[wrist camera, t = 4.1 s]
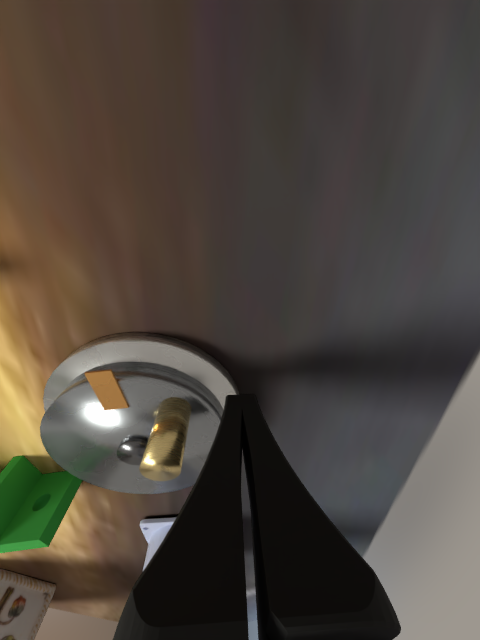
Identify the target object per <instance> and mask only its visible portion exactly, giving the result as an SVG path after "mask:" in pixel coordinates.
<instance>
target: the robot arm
mask: <svg viewBox="0 0 480 640" xmlns="http://www.w3.org/2000/svg"><path fill="white" fill-rule="evenodd" d="M242 449H243V456H244V463H245V470H246V478H247V485H248V492H249V500H250V509H251V523H252V539H253V555H254V571H255V587H256V604H257V621H258V638H259V640H392V639H394V638H395V637H397V636H398V635H399V633H400V631H401V627H400V624H399V621H398V618H397V615H396V613H395V611H394V609H393V606H392V604H391V602H390V600H389V598H388V596H387V594H386V592H385V590H384V588H383V586H382V584H381V583H380V581H379V579H378V577H377V575H376V574H375V572H374V571H373V569H372V568H371V567H370V566H369V565H368V564H367V563H366V561H365V560H364V559H363V558H362V557H361V556H360V555H359V554H358V552H357V551H356V550H355V549H354V548H353V547H352V546H351V544H350V543H349V542H348V541H347V540H346V539H345V538H344V536H343V535H342V534H341V533H340V531H339V530H338V529H337V528H336V527H335V525H334V524H333V523H332V522H331V521H330V519H329V518H328V517H327V516H326V514H325V513H324V512H323V510H322V509H321V508H320V506H319V505H318V504H317V503H316V501H315V500H314V499H313V497H312V496H311V495H310V493H309V492H308V491H307V489H306V488H305V486H304V485H303V484H302V482H301V481H300V479H299V478H298V476H297V475H296V473H295V472H294V470H293V469H292V467H291V466H290V464H289V463H288V461H287V460H286V458H285V456H284V455H283V453H282V451H281V449H280V448H279V446H278V444H277V442H276V441H275V439H274V437H273V435H272V433H271V431H270V429H269V427H268V425H267V423H266V421H265V419H264V417H263V414H262V412H261V410H260V407H259V404H258V402H257V398H256V395H254V394H239V395H227V396H226V398H225V405H224V410H223V414H222V418H221V421H220V424H219V427H218V430H217V433H216V436H215V439H214V442H213V444H212V447H211V449H210V452H209V454H208V457H207V459H206V461H205V463H204V466H203V468H202V470H201V472H200V474H199V476H198V478H197V480H196V483H195V485H194V486H193V488H192V490H191V492H190V494H189V496H188V498H187V500H186V502H185V504H184V505H183V507H182V509H181V511H180V513H179V514H178V516H177V517H171V518H155V519H143V520H141V522H140V528H141V530H142V532H143V534H144V536H145V538H146V540H147V542H148V544H149V546H148V550H147V554H146V559H145V563H144V567H143V572H142V574H141V575H140V577H139V578H138V580H137V581H136V583H135V585H134V586H133V588H132V591H131V593H130V595H129V598H128V600H127V602H126V605H125V607H124V610H123V612H122V615H121V617H120V620H119V623H118V626H117V629H116V632H115V635H114V638H113V640H249V639H248V618H247V599H246V580H245V561H244V542H243V522H242V502H241V465H242Z"/></svg>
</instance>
